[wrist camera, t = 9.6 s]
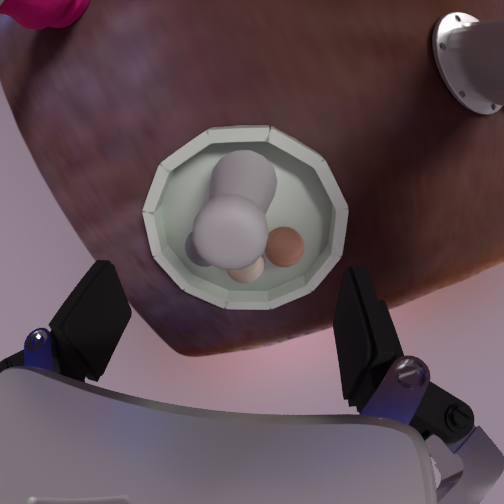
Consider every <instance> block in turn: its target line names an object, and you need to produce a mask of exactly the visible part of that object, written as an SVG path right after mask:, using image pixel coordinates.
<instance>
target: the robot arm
mask: <svg viewBox="0 0 504 504" xmlns="http://www.w3.org/2000/svg"><path fill="white" fill-rule="evenodd" d="M432 44H433V53H434V58H435V61H436V65H437V68H438V70H439V73H440V75H441V77H442V79H443V81H444V83H445V85H446V86H447V88H448V89H449V91H450V92H451V94H452V95H453V96H454V97H455V98H456V99H457V100H458V102H459V103H460V104H462V105H463V106H464V107H466V108H467V109H469V110H471V111H473V112H476V113H480V114H486V115H488V114H493V113H495V112H497V111H498V110H499V109H500V108H501V107H502V106H504V19H494V20H485V21H479V20H477V19H476V18H474V17H473V16H470V15H468V14H466V13H461V12H452V13H449V14H445V15H444V16H442V17H441V18H440V19H439V20H438V21H437V23H436V25H435V27H434V30H433V37H432ZM131 314H132V312H131V308H130V305H129V303H128V301H127V298H126V296H125V293H124V291H123V288H122V285H121V283H120V280H119V278H118V275H117V272H116V269H115V267H114V265H113V264H111V262H110V261H108V260H97V261H96V262H95V263H94V264H93V265H92V267H91V268H90V269H89V271H88V272H87V273H86V274H85V276H84V277H83V278H82V279H81V281H80V282H79V283H78V284H77V286H76V287H75V288H74V290H73V291H72V292H71V294H70V295H69V296H68V298H67V299H66V301H65V302H64V303H63V305H62V306H61V308H60V309H59V310H58V312H57V313H56V315H55V316H54V318H53V319H52V320H51V322H50V323H49V326H50V328H51V329H52V330H51V332H49V331H48V330H47V329H46V328H38V329H35V330H34V331H32V332H31V333H30V334H29V335H28V336H27V338H26V340H25V343H24V350H22V351H20V352H18V353H16V354H14V355H12V356H10V357H8V358H6V359H4V360H3V361H1V362H0V504H479V503H480V502H481V501H482V499H483V498H484V497H485V495H487V493H488V492H489V490H490V489H491V488H492V486H493V485H494V484H495V483H496V481H497V480H498V479H499V477H500V476H501V474H502V472H503V470H504V456H503V454H502V453H501V451H500V450H499V449H498V448H497V447H496V445H495V444H494V443H493V442H492V440H491V439H490V438H489V437H488V435H487V434H486V433H485V432H484V431H483V429H482V428H481V427H480V426H478V427H475V425H474V414H473V411H472V410H471V408H470V407H469V406H468V405H467V404H466V403H464V402H463V401H461V400H459V399H458V398H456V397H454V396H453V395H451V394H450V393H448V392H447V391H445V390H443V389H442V388H440V387H438V386H437V385H435V384H434V383H432V382H430V371H429V369H428V367H427V365H426V364H425V363H424V362H423V361H422V360H420V359H419V358H417V357H414V356H404V354H403V351H402V348H401V345H400V342H399V339H398V336H397V333H396V330H395V327H394V325H393V322H392V319H391V316H390V314H389V311H388V308H387V306H386V303H385V301H383V300H378V298H377V295H376V293H375V290H374V287H373V285H372V282H371V280H370V277H369V275H368V272H367V270H366V267H365V266H350V267H349V270H345V271H344V274H343V279H342V284H341V289H340V293H339V298H338V302H337V306H336V311H335V315H334V319H333V329H334V335H335V341H336V348H337V354H338V361H339V368H340V375H341V383H342V391H343V397H344V400H347V399H348V403H349V407H350V406H356V407H357V412H359V413H360V414H359V415H350V414H348V415H347V414H346V415H344V414H343V415H269V414H249V413H236V412H225V411H215V410H207V409H199V408H192V407H186V406H179V405H174V404H168V403H163V402H158V401H153V400H148V399H143V398H139V397H135V396H130V395H126V394H122V393H119V392H114V391H111V390H107V389H104V388H100V387H97V386H94V385H91V384H88V383H85V380H84V379H85V377H87V378H88V379H89V380H93V381H96V382H98V380H99V378H100V376H102V375H103V374H104V371H105V369H106V367H107V365H108V363H109V361H110V359H111V356H112V354H113V352H114V350H115V348H116V346H117V344H118V342H119V340H120V338H121V336H122V333H123V332H124V330H125V328H126V326H127V324H128V322H129V320H130V318H131ZM430 457H432V458H433V459H434V461H435V462H436V464H435V466H436V467H437V468H438V470H439V472H440V474H441V482H440V485H439V487H438V488H437V489H436V484H435V477H434V471H433V466H432V462H431V458H430Z"/></svg>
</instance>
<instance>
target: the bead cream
mask: <svg viewBox="0 0 504 504" xmlns="http://www.w3.org/2000/svg"><path fill="white" fill-rule="evenodd" d="M263 270H264V258H263V256H261V257H260V258H259V259H258V260H257V261H256V262H255V263H254V264H252V265H250V266H248V267H245V268H243V269H240V270H227V273H228V274H229V276H230V277H231V278H232V279H233V280H235V281H236V282H239V283H244V284H246V283H251V282H254V281H255V280H257V279H258V278H259V277H260V276H261V274H262V273H263Z"/></svg>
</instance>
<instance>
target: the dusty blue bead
mask: <svg viewBox="0 0 504 504" xmlns="http://www.w3.org/2000/svg"><path fill="white" fill-rule="evenodd" d="M192 233H193V231H192V232H191V233H190V234H189V235H188V237H187V239H186V242H185V251H186V255H187V257H188V258H189V260H190V261H191V262H193V263H194V264H196V265H198V266H202V267H208V266H211V265H210V264H208V263H207V262H206V261H205V260H204V259H203V258H202V257H201V256H200V255H199V254H198V253H197V251H196V248H195V246H194V244H193V241H192Z"/></svg>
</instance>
